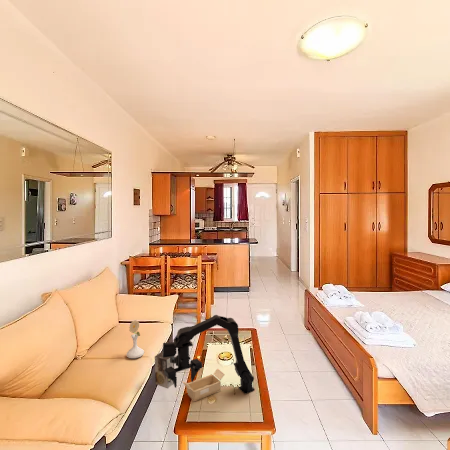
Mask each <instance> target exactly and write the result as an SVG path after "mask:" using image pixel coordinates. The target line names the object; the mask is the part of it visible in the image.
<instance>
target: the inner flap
mask: <svg viewBox="0 0 450 450" xmlns="http://www.w3.org/2000/svg"><path fill="white" fill-rule="evenodd" d="M212 375H214V376H215V377H216V378H217V379H218V380H219V381H221V380H222V379H223V378H224V376H225V373H224V372H223V371H221V369H219V368H217V369H216V370H215V371H214V372H213V374H212Z"/></svg>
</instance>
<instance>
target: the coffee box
mask: <svg viewBox="0 0 450 450" xmlns="http://www.w3.org/2000/svg"><path fill="white" fill-rule="evenodd" d="M169 367H173V368H174V369H175V364H174V363H170V357H165V358H163V351H161V352H159V353H158V354H156V355H155V356H154V373H155V374H154V375H155V377H154V378H155V385H157V386H160V387H161V388H165V389H169V388H170V387H171V386H174V384H173V381H172V380H171V379H168V378H167V377H166V375H165V374H164V370H165V369H166V368H169Z"/></svg>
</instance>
